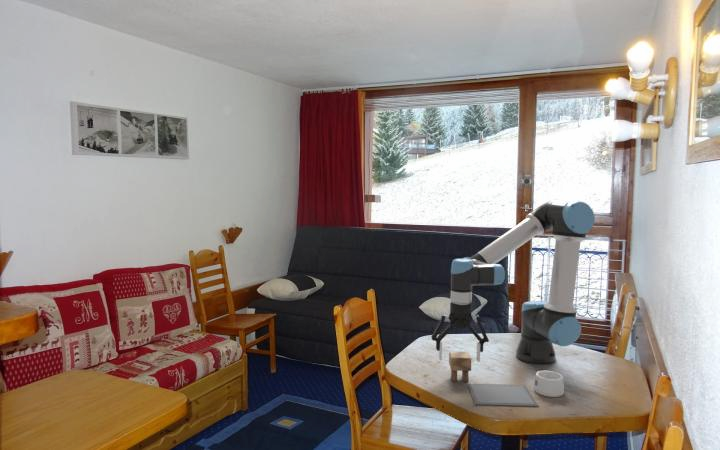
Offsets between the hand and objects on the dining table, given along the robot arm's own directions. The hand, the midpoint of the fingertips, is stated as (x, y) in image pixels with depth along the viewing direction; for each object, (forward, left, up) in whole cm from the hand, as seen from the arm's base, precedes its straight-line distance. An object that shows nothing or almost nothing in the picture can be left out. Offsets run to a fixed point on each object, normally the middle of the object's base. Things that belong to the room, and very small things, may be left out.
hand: (459, 359), depth 180 cm
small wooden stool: (0, 0, -7) cm, 7 cm away
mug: (-29, +8, -8) cm, 31 cm away
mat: (-12, +13, -7) cm, 19 cm away
